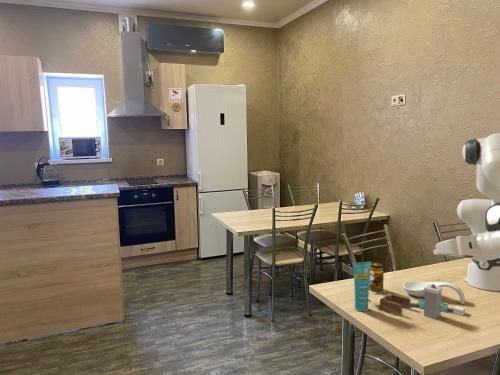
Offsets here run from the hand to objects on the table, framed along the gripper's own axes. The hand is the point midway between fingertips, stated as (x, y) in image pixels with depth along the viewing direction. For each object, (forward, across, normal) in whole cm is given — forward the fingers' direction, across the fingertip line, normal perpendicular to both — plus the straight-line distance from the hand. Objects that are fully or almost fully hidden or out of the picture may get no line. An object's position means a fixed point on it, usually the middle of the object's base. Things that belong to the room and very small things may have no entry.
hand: (444, 253), depth 136 cm
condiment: (+40, -2, +11) cm, 42 cm away
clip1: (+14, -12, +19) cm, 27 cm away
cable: (+17, -8, +19) cm, 27 cm away
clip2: (+20, -6, +18) cm, 28 cm away
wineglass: (+34, +10, +16) cm, 39 cm away
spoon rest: (+24, -18, +14) cm, 33 cm away
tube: (+29, +16, +19) cm, 38 cm away
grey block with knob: (+13, -4, +21) cm, 25 cm away
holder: (+22, +4, +19) cm, 30 cm away
